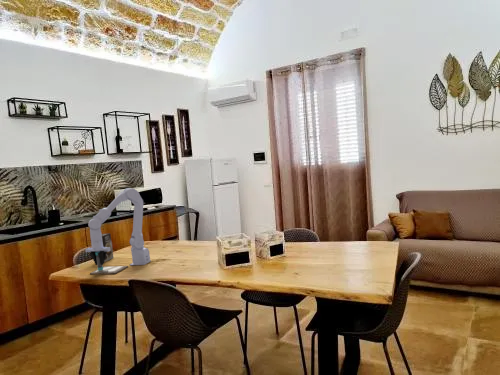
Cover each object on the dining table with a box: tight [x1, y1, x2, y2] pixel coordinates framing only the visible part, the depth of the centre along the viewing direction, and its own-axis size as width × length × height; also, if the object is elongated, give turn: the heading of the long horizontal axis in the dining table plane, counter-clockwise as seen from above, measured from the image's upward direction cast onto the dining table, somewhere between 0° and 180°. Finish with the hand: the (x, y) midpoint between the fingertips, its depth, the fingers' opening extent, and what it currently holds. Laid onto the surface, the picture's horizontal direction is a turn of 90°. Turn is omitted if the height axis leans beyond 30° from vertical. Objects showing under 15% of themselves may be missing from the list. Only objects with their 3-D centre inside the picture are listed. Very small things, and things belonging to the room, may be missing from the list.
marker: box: [95, 252, 104, 271], centre depth 205 cm, size 3×3×10 cm
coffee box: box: [101, 232, 114, 263], centre depth 233 cm, size 9×6×16 cm
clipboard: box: [89, 265, 129, 275], centre depth 207 cm, size 16×12×2 cm
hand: (99, 264), depth 206 cm, fingers closed on marker, 3 cm apart
